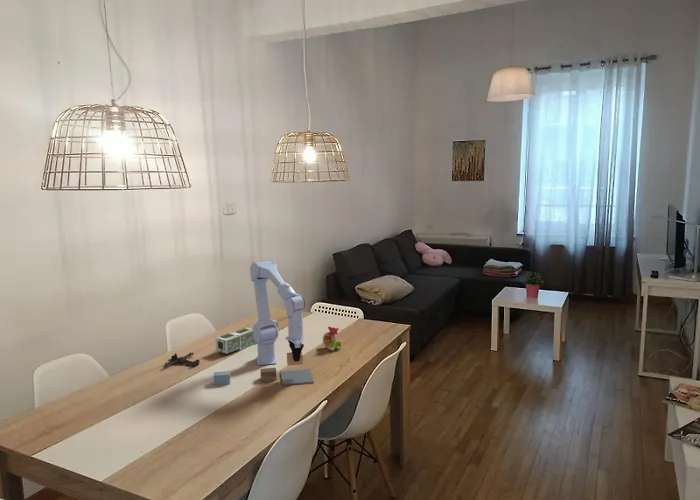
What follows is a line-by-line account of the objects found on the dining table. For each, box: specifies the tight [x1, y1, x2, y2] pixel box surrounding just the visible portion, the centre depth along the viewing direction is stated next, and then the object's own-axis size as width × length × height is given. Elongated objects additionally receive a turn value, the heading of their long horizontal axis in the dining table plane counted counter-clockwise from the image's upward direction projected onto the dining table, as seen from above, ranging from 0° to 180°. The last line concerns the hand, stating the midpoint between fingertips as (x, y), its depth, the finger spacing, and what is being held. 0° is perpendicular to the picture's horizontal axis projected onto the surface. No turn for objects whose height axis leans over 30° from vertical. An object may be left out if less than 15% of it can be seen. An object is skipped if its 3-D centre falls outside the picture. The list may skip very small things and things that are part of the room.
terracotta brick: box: [286, 351, 304, 366], centre depth 207 cm, size 4×6×4 cm, turn 101°
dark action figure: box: [162, 351, 200, 369], centre depth 223 cm, size 18×4×14 cm
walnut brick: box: [260, 367, 278, 382], centre depth 207 cm, size 4×6×4 cm, turn 102°
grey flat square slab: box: [279, 368, 314, 386], centre depth 208 cm, size 13×12×1 cm
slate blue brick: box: [213, 370, 231, 386], centre depth 203 cm, size 4×6×4 cm, turn 101°
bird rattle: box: [322, 326, 342, 351], centre depth 241 cm, size 6×11×9 cm
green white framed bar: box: [215, 319, 279, 354], centre depth 248 cm, size 35×8×7 cm, turn 147°
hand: (296, 359), depth 207 cm, fingers closed on terracotta brick, 3 cm apart
